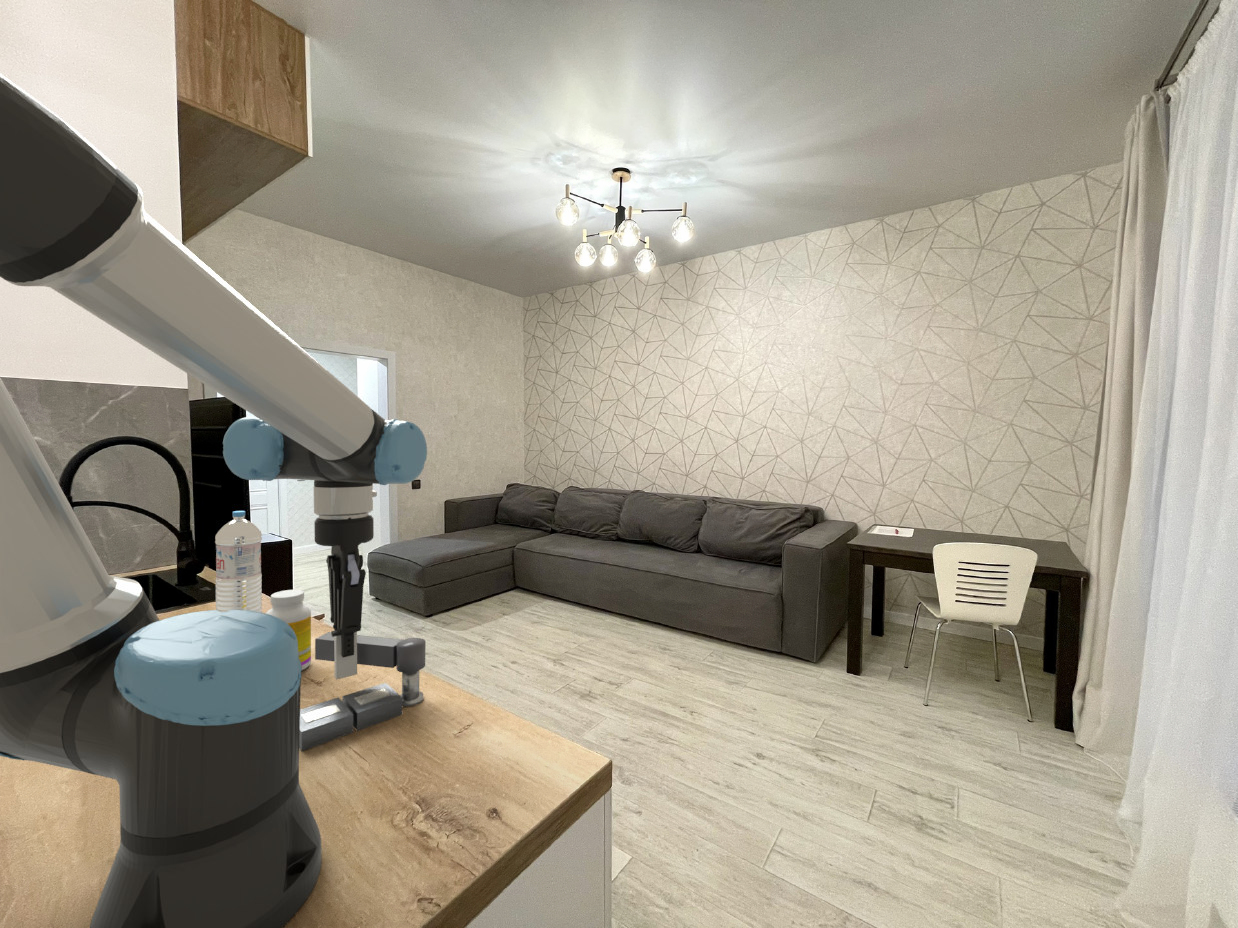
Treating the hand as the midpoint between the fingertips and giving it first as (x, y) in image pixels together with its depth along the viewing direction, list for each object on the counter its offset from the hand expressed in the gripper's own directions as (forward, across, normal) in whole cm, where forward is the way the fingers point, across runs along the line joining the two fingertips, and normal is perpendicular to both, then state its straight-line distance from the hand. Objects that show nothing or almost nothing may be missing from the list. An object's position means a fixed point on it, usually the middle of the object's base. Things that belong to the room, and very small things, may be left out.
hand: (345, 675), depth 74 cm
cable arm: (-1, +1, -4) cm, 4 cm away
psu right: (+5, -5, -2) cm, 7 cm away
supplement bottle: (+4, +19, +5) cm, 20 cm away
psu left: (+5, -5, +4) cm, 8 cm away
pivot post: (+5, -4, -8) cm, 10 cm away
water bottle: (+4, +35, +11) cm, 37 cm away
